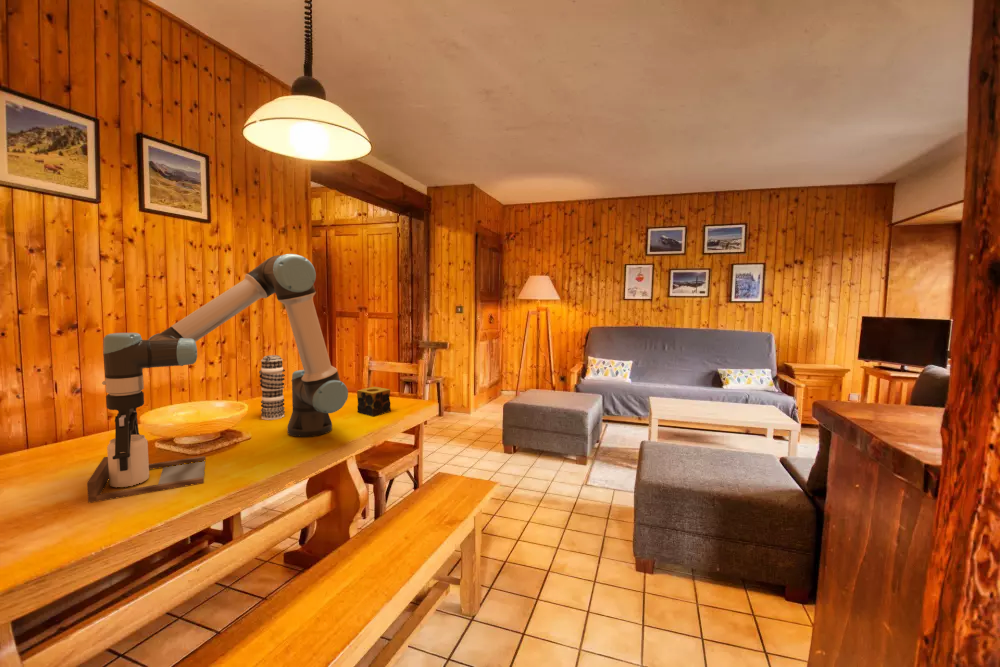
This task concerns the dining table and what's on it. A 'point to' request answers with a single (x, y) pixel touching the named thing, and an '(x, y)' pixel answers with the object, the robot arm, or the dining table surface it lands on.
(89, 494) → the dark frame
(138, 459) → the beverage can
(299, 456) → the dining table surface
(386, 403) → the dark patterned box
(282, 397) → the decorative candle
